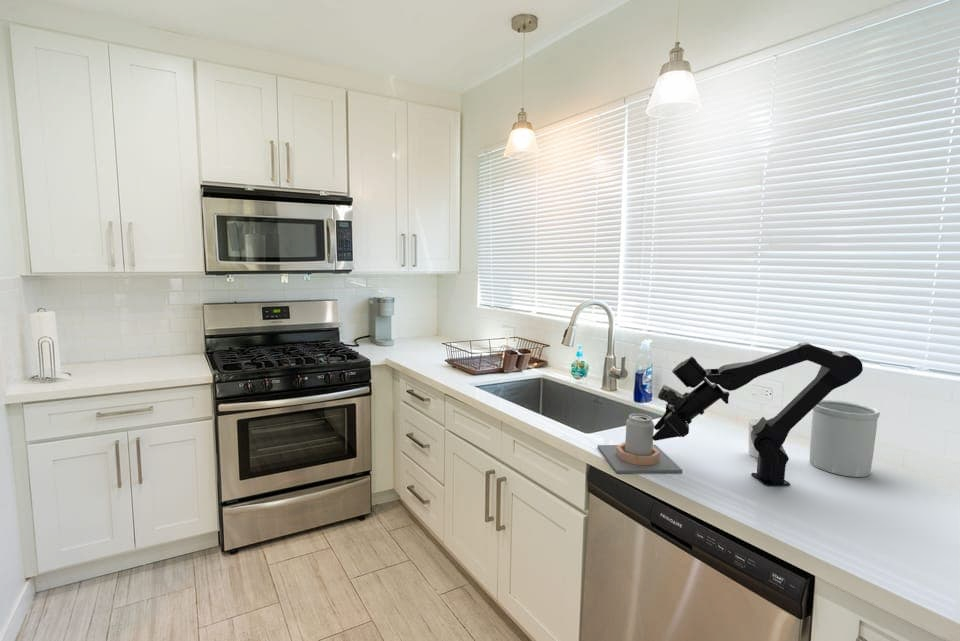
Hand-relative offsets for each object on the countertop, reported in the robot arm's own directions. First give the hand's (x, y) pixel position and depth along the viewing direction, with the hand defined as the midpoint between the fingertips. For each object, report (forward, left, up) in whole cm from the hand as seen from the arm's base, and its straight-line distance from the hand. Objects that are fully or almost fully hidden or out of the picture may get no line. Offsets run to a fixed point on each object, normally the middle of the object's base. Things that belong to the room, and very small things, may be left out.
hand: (654, 433), depth 135 cm
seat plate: (+2, +4, -8) cm, 9 cm away
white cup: (+4, -34, -8) cm, 35 cm away
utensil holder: (-4, -51, -8) cm, 52 cm away
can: (+2, +4, -8) cm, 9 cm away
